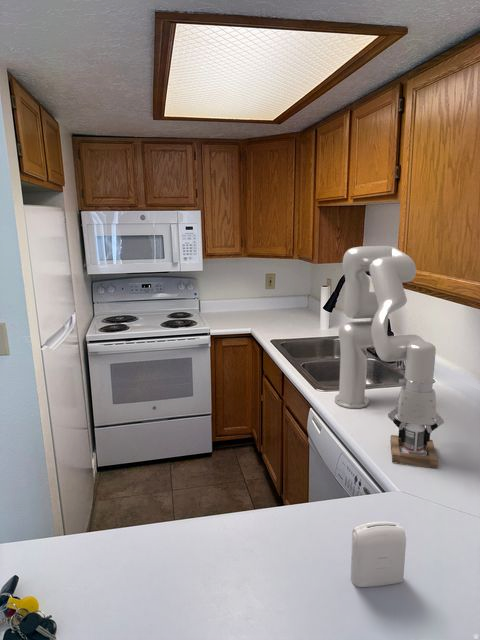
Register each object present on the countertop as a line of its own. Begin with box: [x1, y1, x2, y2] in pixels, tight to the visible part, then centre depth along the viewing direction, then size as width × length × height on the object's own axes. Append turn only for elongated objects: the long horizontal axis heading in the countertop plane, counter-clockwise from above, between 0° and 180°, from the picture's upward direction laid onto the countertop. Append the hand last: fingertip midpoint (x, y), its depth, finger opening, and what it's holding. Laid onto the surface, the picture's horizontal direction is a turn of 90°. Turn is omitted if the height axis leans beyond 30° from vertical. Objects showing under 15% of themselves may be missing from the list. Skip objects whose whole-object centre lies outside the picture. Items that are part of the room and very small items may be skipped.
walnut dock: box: [389, 434, 439, 469], centre depth 127 cm, size 12×12×2 cm
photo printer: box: [350, 521, 407, 588], centre depth 83 cm, size 10×4×12 cm, turn 96°
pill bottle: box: [402, 423, 426, 454], centre depth 126 cm, size 6×6×10 cm
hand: (413, 441), depth 127 cm, fingers closed on pill bottle, 5 cm apart
